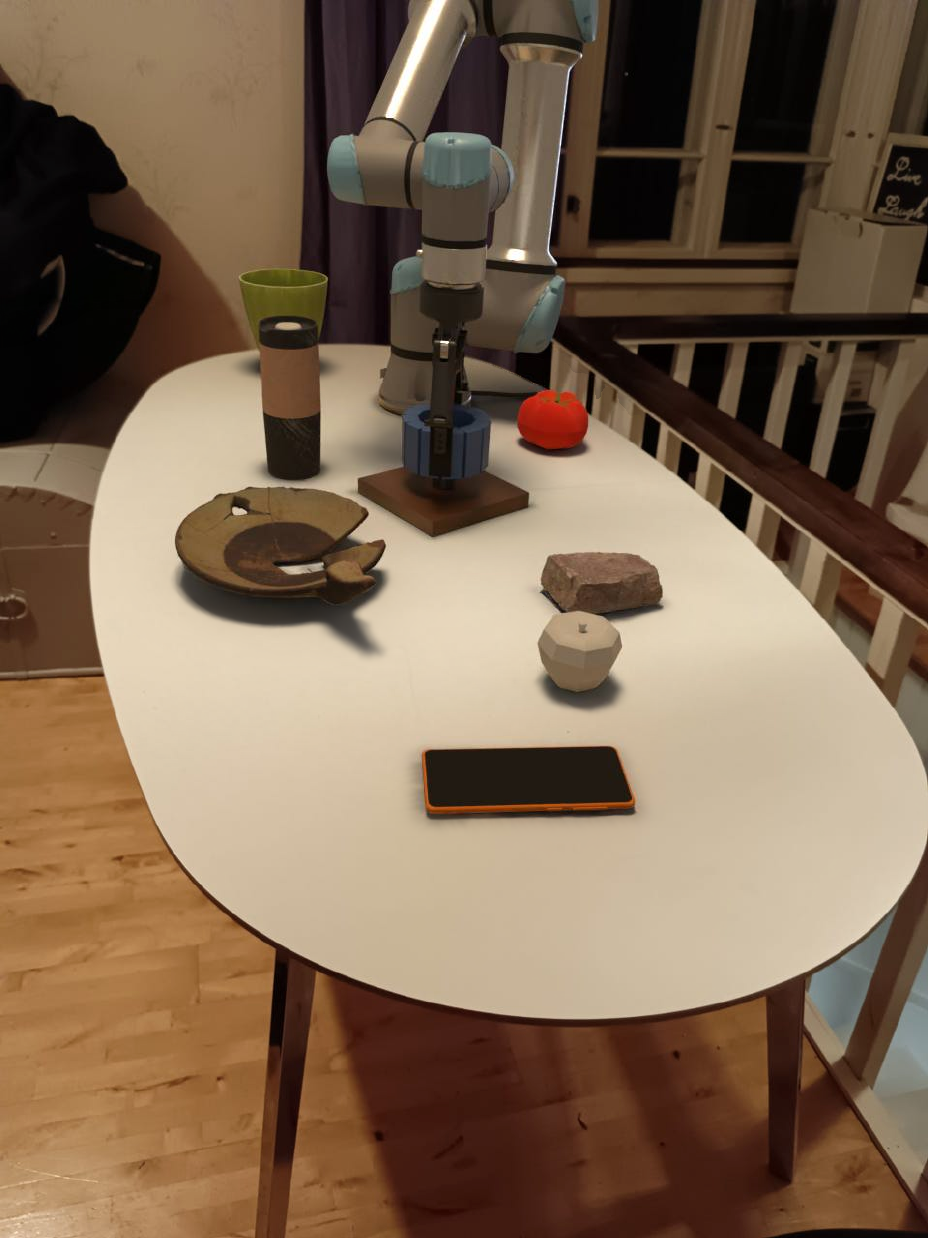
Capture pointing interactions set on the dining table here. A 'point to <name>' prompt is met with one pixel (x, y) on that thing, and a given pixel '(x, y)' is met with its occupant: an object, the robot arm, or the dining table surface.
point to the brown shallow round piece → (278, 544)
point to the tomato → (553, 420)
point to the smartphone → (525, 779)
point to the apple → (579, 649)
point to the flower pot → (283, 295)
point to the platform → (442, 498)
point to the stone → (601, 581)
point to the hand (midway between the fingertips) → (445, 457)
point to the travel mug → (290, 395)
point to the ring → (466, 446)
